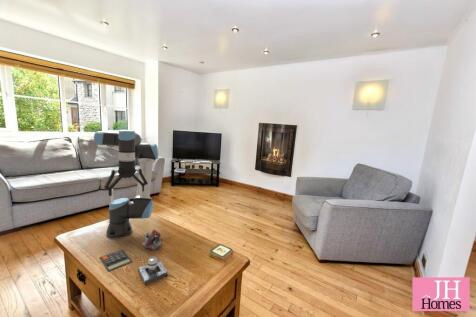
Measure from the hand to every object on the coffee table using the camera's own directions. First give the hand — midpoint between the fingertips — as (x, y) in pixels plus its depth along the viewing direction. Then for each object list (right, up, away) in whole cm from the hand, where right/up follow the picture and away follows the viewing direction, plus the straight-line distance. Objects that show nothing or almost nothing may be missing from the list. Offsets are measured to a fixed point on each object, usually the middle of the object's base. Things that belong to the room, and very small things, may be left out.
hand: (127, 199), depth 110 cm
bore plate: (+16, -37, -4) cm, 41 cm away
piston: (+15, -37, -5) cm, 40 cm away
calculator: (-8, -35, +3) cm, 36 cm away
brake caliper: (+6, -33, +19) cm, 39 cm away
